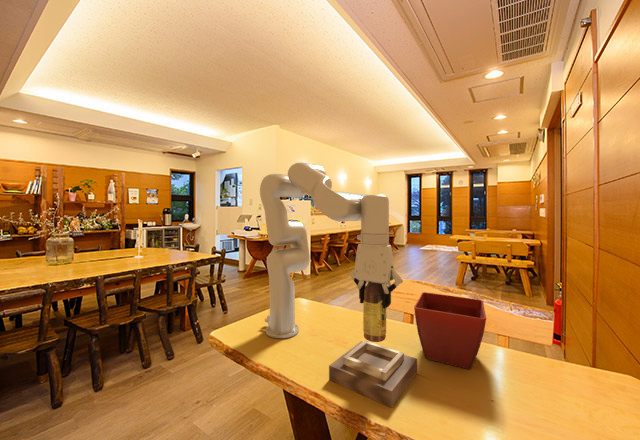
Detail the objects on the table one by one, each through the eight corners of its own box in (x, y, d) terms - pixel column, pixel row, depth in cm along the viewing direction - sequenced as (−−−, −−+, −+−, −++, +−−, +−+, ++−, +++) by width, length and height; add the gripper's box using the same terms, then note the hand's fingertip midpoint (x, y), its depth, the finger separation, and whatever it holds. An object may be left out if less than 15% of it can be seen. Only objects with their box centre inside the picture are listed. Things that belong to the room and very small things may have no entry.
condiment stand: (329, 379, 76) (329, 358, 76) (361, 353, 90) (361, 334, 90) (391, 408, 65) (391, 382, 65) (417, 372, 79) (417, 351, 79)
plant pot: (482, 349, 93) (483, 299, 92) (485, 379, 76) (486, 318, 76) (422, 337, 102) (422, 291, 101) (412, 361, 85) (413, 307, 85)
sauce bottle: (386, 344, 73) (387, 269, 73) (362, 342, 75) (363, 268, 74) (385, 333, 80) (386, 265, 79) (363, 331, 81) (364, 264, 80)
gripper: (340, 239, 79) (341, 302, 79) (399, 243, 68) (399, 315, 69) (354, 237, 85) (354, 295, 85) (410, 240, 74) (410, 307, 75)
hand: (374, 303), depth 77 cm, fingers closed on sauce bottle, 6 cm apart
